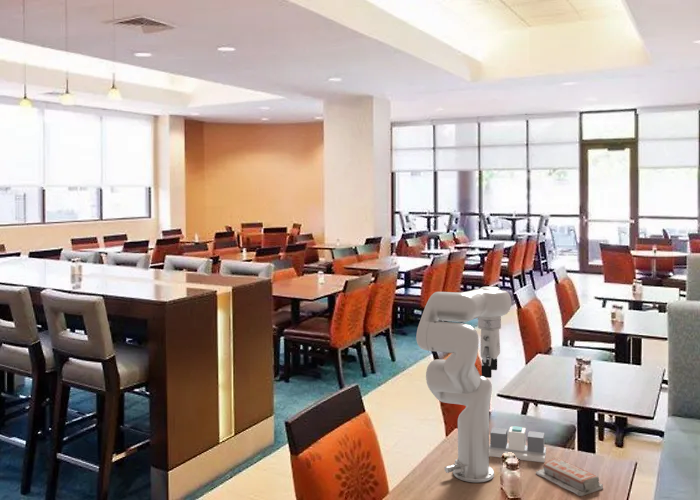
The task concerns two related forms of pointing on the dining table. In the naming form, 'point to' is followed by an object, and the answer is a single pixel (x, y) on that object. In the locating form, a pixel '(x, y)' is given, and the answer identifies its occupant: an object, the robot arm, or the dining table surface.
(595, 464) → the dining table surface
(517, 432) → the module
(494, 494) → the dining table surface
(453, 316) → the robot arm
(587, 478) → the packaged product
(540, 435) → the rail board
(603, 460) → the dining table surface
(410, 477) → the dining table surface
